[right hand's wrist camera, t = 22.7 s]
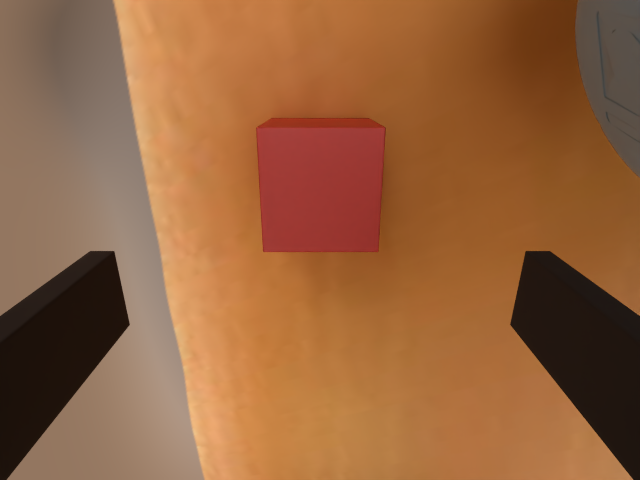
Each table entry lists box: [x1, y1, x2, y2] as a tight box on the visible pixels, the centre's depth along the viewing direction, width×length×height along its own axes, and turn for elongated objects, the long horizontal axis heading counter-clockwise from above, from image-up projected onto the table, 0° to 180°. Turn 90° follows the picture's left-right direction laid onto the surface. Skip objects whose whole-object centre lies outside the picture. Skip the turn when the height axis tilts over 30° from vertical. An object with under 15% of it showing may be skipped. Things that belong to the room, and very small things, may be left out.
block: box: [256, 118, 386, 252], centre depth 29 cm, size 8×8×8 cm
